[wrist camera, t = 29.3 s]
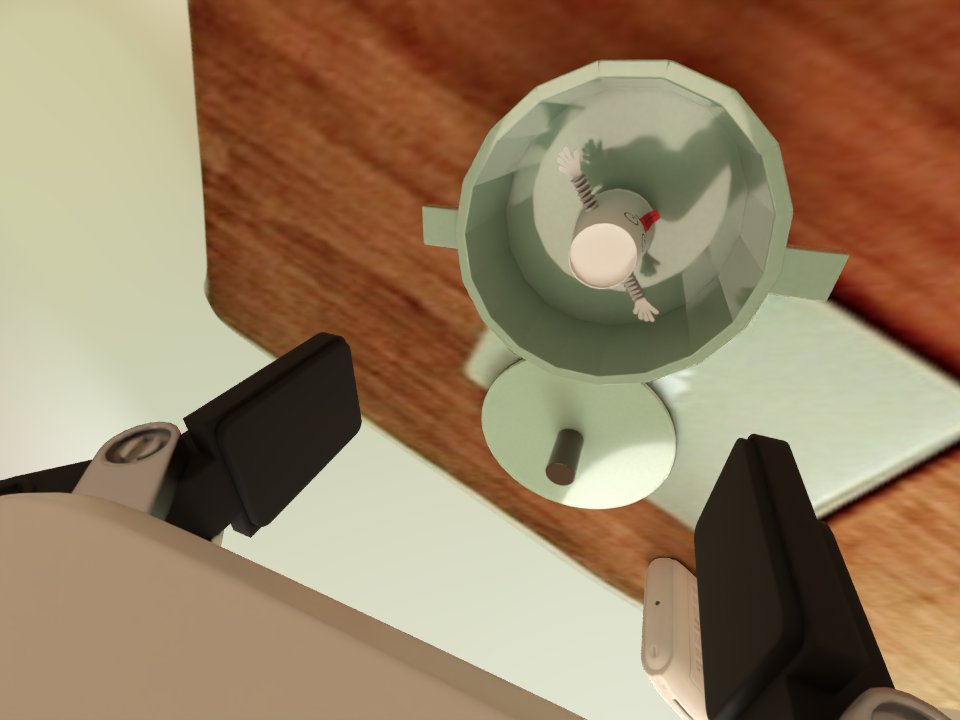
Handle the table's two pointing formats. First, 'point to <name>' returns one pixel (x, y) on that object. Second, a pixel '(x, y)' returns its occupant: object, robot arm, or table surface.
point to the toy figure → (610, 236)
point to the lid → (578, 437)
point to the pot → (668, 189)
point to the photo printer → (673, 637)
